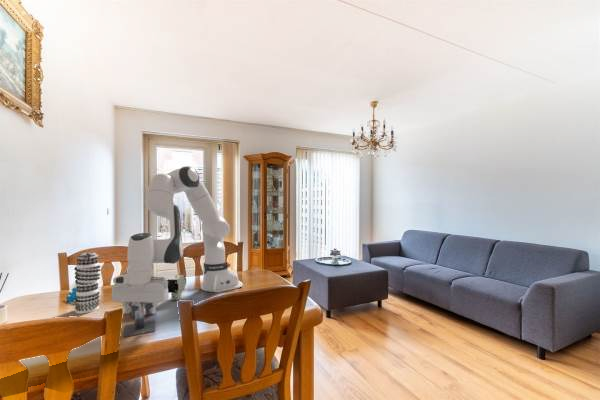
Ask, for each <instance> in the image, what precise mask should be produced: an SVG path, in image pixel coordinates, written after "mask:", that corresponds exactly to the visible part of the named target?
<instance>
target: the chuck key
mask: <svg viewBox="0 0 600 400" xmlns="http://www.w3.org/2000/svg"><path fill="white" fill-rule="evenodd" d="M145 305H147V302H135V307H133V308H132V311H135V317H134V323H135V329H136V330H139V329H142V328H144V322H145V316H144V306H145Z"/></svg>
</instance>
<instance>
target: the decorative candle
mask: <svg viewBox="0 0 600 400" xmlns="http://www.w3.org/2000/svg"><path fill="white" fill-rule="evenodd" d="M99 256H100V255H99V254H97V253H96V252H94V251H89V252H88V251H87V252H81V253H80V254H78V256H77V257H76V258H75V259H76V266H75V267H74V269H73V270H74V271H75V272H74V275H75V276H74V278H75V281H74V283H75V287H76V286H77V291H76V296H75V297H76V300H75V301H74V302H75V303H74V306H75V307H74V309H75V311H74V312H75V313H76V314H88V313H92V312H95V311H97V310H99V309H100V306H99V305H100V291H99V283H100V278H101V277H100V276H101V274H100V273H99V272H100V271H101V269H100V268H101V265H100V262H99Z"/></svg>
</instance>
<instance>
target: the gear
mask: <svg viewBox="0 0 600 400" xmlns="http://www.w3.org/2000/svg"><path fill="white" fill-rule="evenodd" d="M76 291H77V286H76V285H75V287H73V288H72V289H71V292H68V293H67V295H68V296H66V298H65V300H66V302H67V303H73V302H76V301H75V300H76V297H75V296H76Z"/></svg>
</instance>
